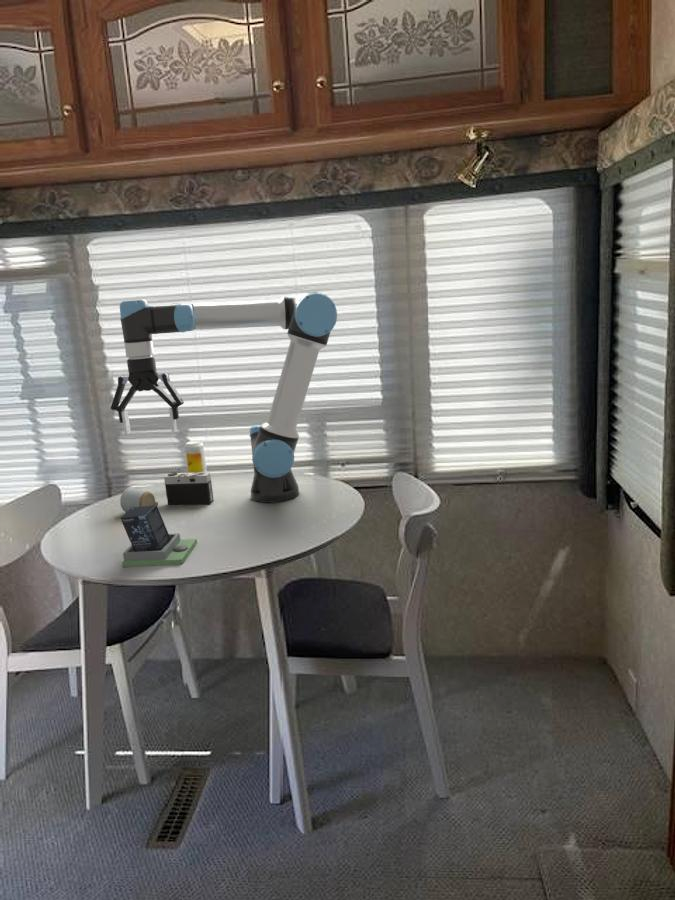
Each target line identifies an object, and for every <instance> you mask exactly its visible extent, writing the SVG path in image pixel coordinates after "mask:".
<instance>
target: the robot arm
mask: <svg viewBox="0 0 675 900" xmlns="http://www.w3.org/2000/svg"><path fill="white" fill-rule="evenodd" d="M119 313H120V318H119V319H120V324H121V331H122V335H123V336H122V337H123V343H124V349H125V357H126V358H128V359H127V360H126V364H127V369H128V371H127V372H128V376H125V375H121V376H120V375H119V376H118V377H117V387H116V390H115V394H114V396H113V399H112V402H111V405H110V410H112V411H117V413H118V419H119V422H120V423H121V424H122V425H123V430H124V431H123V432H124V435H125V436H126V435H127V436H128V435H129V434H131V432H132V431H131V424H130V418H129V412H128V409H126V407H127V406H128V404H129V403H130V402H131V400H132V399H133V397H134V395H135V394H136V392H143V391H145V392H147V391H148V392H149V391H151V390H152V391H153V392H154V393H156V394H157V395H158V396H159V397H160V398H161V399H162V400H163V401H164V402H165V403H166V404H167V405H168V406H169V407H170V408H169V409H168V412H169V420H170V427H171V428H170V429H171V432H172V433H175V432H176V431H177V430H178V425H177V420H178V419H179V417H180V415H179V407H180V406H182V405H184V404H185V403H184V400H183V398H182V397H181V395H180V393H179V392H178V390H177V389H176V387H175V386H174V384H173V382H172V381H171V379H170V375H169V373H168V372H163V373H161V374H158V372H157V364H156V358H155V357H154V355H155V351H154V343H153V336H152V335H157V334H159V335H160V334H173V333H174V334H175V333H186V332H191V331H194V330H209V329H212V330H213V329H239V328H266V327H267V328H268V327H281V328H282V329H283V330H287V337H288V338H289V340H290V342H289V345H288V349H287V353H286V356H285V359H284V362H283V365H282V366H283V367H282V370H281V372H280V377H279V380H278V382H277V383H278V384H277V387H276V389H275V390H276V391H275V394H274V397H273V401H272V404H271V408H270V411H269V414H268V417H267V419H266V421H265V422H263V423H262V424H257V425H256V424H255V425H252V426H251V427H250V429H249V432H250V433H249V437H250V445H251V446H250V447H251V452H252V453H251V455H252V456H251V457H252V458H251V460H252V465H253V472H254V473H253V479H252V482H251V487H250V488H251V489H250V499H252V500H253V501H255V502H259V503H275V502H276V503H277V502H284V501H286V500H291V499H293V498H296V497H297V496H298V495H299V493H300V492H299V491H300V490H299V484H298V482H297V480H296V478H295V475H294V472H293V470H292V468H293V465H294V463H295V453H296V452H295V451H296V447H297V444H298V441H299V438H300V435H299V434H298V433H299V432H298V431H297V426H298V422H299V420H300V416H301V412H302V409H303V407H304V402H305V401H306V396H307V393H308V390H309V387H310V383H311V380H312V377H313V373H314V369H315V366H316V363H317V360H318V357H319V352H320V351H321V350H322V349H323V348H326V347H327V345H328V341H329V338H330V336H331V335H330V334H331V331H332V330H333V329H334V328H335V326H336V324H337V319H338V310H337V307H336V304H335V303H334V301H333V300H332V299H331V298H330V297H329V296H328V295H327V294H325V293H322V292H318V291H312V292H305V293H302V294H297V295H289V296H282V297H281V298H280V299H277V300H275V299H273V300H252V301H251V300H250V301H249V300H247V301H227V302H226V301H225V302H223V301H220V302H197V303H195V302H194V303H177V302H176V303H171V304H165V305H156V306H154V305H153V306H151V305H150V306H149V304H148V301H147V300H146V299H139V300H137V299H136V300H134V299H133V300H123V301H121V302H120V304H119ZM159 380H160V381H161V382H163V384H164V386H165V388H166V389H167V391H168V393H170V395H171V396H170V395H169V394H168V393H167V391H165V390H164V389H163V388H162V387H161V385H160V384H159V383H158V381H159ZM128 382H129V383H130V385H131V386H130V388H129V390H128V392H127V393H126V395H125V397H124V398H123V399H122V396H123V392H124V390H125V387H126V384H128ZM121 399H122V401H121ZM125 409H126V410H125Z"/></svg>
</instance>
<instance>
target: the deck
mask: <svg viewBox="0 0 675 900" xmlns="http://www.w3.org/2000/svg"><path fill="white" fill-rule="evenodd" d="M168 534H169V536H170V539H171V540H170V541H169V542H168V543H167V544H166V545H165V547H164V548H163V549H162V550H161V551H140V552H135V551H134V549H133V547H132V544H131V543H130V545H129V546H128V548H126V549H125V551H123V553H122V557H123V558H122V559H123V561H122V567H123V566H129V567H142V566H141V565H144V566H143V567H148V566H166V565H171V566H172V565H184V563H185V561H186V559H187V558H188V557H189V555H190V554H191V552H192V551H193V549H194V548H195V547H196V545H197V544H198V539H197V538H182V539H181V535H180V533H168ZM137 565H138V566H137ZM146 565H147V566H146Z"/></svg>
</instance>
